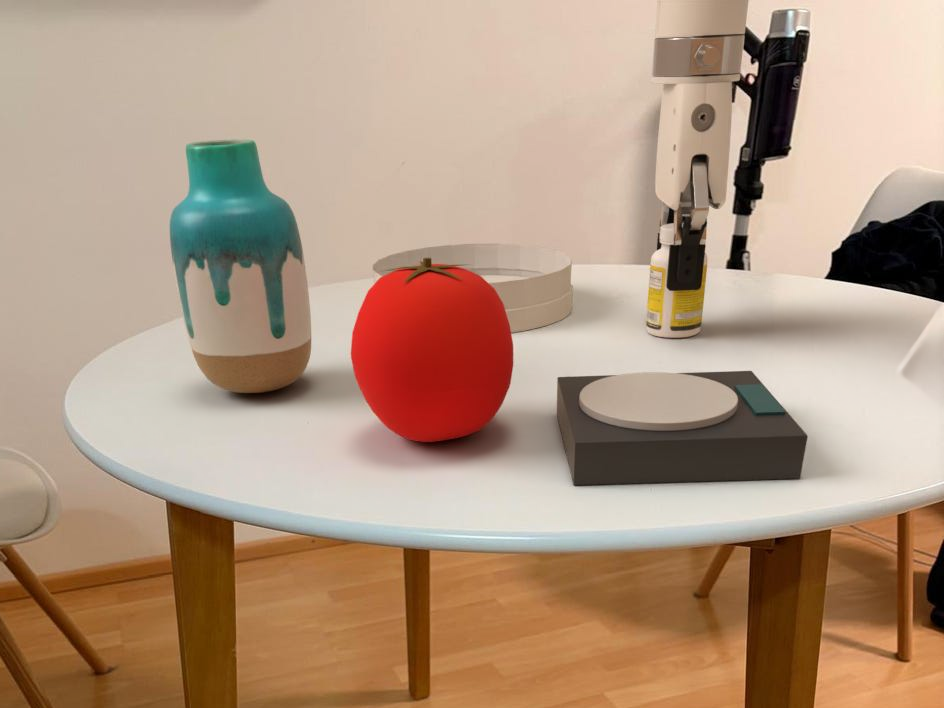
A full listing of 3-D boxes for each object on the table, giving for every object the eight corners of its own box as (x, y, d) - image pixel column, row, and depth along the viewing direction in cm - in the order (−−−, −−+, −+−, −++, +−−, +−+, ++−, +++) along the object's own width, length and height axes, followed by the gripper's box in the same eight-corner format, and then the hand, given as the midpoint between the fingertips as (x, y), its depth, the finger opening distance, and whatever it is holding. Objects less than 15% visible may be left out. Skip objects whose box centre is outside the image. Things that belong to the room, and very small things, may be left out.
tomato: (444, 399, 76) (436, 237, 69) (547, 432, 69) (550, 255, 62) (324, 439, 69) (302, 264, 62) (425, 481, 62) (412, 287, 55)
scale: (746, 408, 72) (752, 362, 70) (800, 478, 60) (809, 426, 58) (556, 414, 72) (557, 368, 70) (573, 485, 60) (575, 433, 59)
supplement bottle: (707, 328, 92) (719, 222, 86) (689, 341, 88) (700, 232, 83) (656, 322, 94) (664, 220, 89) (637, 335, 90) (644, 229, 85)
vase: (304, 364, 86) (275, 133, 76) (332, 397, 78) (303, 142, 67) (190, 380, 83) (143, 142, 72) (206, 416, 75) (155, 152, 64)
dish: (511, 346, 89) (510, 292, 86) (333, 322, 99) (328, 274, 96) (605, 297, 104) (607, 250, 102) (443, 281, 114) (441, 238, 112)
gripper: (767, 62, 71) (737, 302, 81) (717, 59, 86) (697, 263, 96) (671, 66, 72) (653, 305, 81) (637, 62, 86) (625, 266, 96)
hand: (677, 280), depth 88 cm, fingers closed on supplement bottle, 5 cm apart
